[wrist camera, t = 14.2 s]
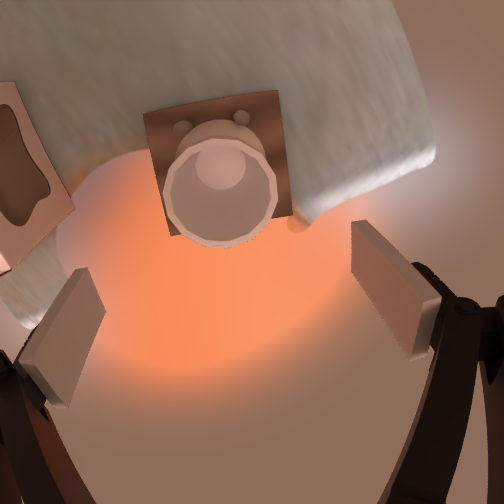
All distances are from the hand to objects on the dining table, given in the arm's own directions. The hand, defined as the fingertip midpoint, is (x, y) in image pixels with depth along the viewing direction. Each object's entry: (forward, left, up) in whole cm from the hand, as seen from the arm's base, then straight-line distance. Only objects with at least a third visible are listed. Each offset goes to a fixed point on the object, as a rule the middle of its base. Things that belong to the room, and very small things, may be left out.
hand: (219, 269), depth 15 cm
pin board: (0, 0, -27) cm, 27 cm away
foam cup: (0, 0, -25) cm, 25 cm away
